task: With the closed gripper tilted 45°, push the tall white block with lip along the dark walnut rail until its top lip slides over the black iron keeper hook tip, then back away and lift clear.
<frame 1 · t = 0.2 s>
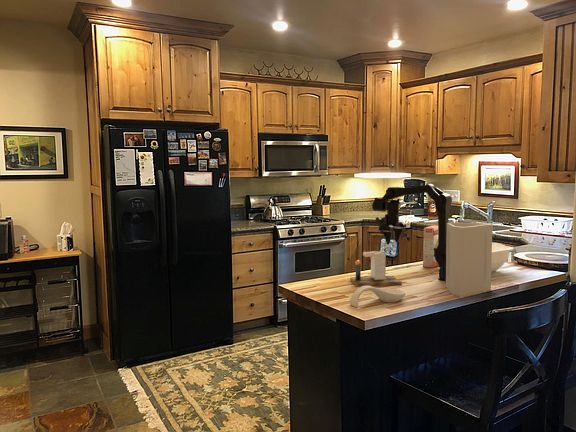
hand: (392, 243, 232), 15 cm above the countertop, tool pointing down, fingers open, 9 cm apart
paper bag: (462, 290, 197), on the countertop
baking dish: (474, 271, 233), on the countertop
spoon rest: (378, 303, 180), on the countertop
walnut rail: (378, 282, 212), on the countertop
white block with lip: (373, 265, 211), point 8 cm above the countertop, slide at 0.0 cm
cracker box: (432, 265, 248), on the countertop
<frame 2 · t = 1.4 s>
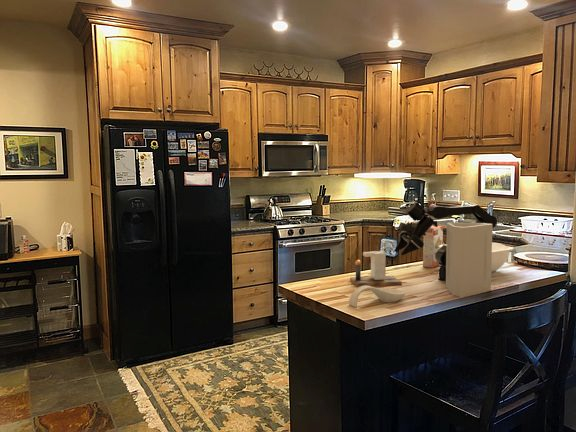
hand: (398, 252, 212), 13 cm above the countertop, tool tilted 45°, fingers open, 9 cm apart
nothing on the countertop moved.
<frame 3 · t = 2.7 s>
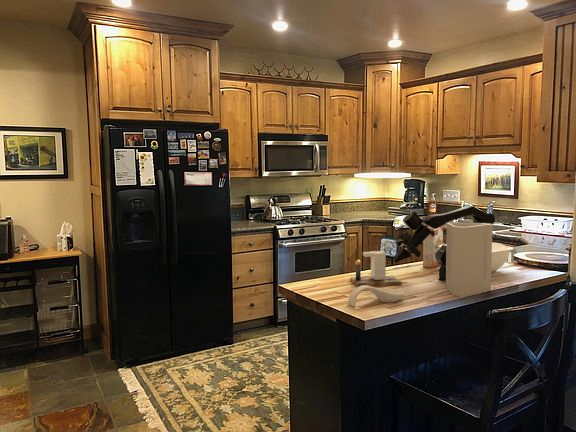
hand: (394, 261, 212), 9 cm above the countertop, tool tilted 45°, fingers closed
nothing on the countertop moved.
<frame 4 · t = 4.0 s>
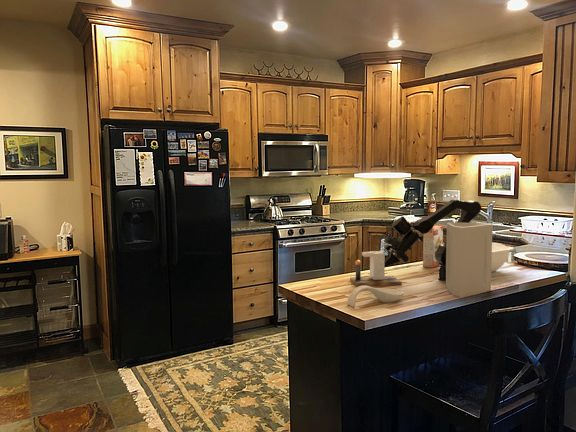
hand: (383, 266, 211), 7 cm above the countertop, tool tilted 45°, fingers closed, pressing on white block with lip
white block with lip: (372, 265, 211), point 8 cm above the countertop, slide at 0.5 cm, touching gripper
everything else where it was.
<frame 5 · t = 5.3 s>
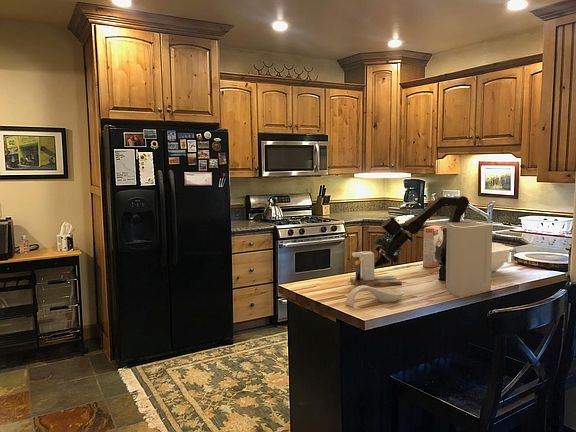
hand: (372, 267, 211), 7 cm above the countertop, tool tilted 45°, fingers closed, pressing on white block with lip
white block with lip: (362, 265, 210), point 8 cm above the countertop, slide at 5.1 cm, touching gripper
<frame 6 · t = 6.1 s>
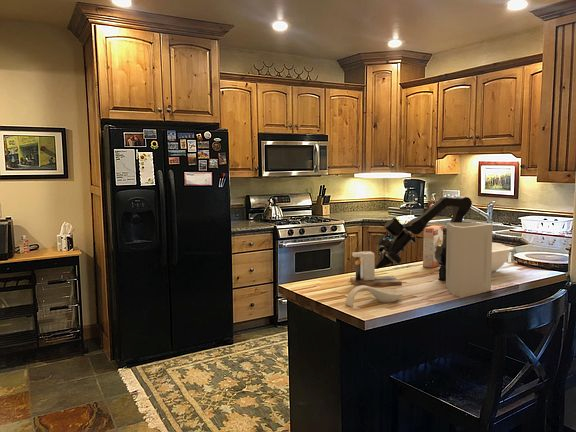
hand: (376, 268, 211), 7 cm above the countertop, tool tilted 45°, fingers closed
white block with lip: (363, 265, 210), point 8 cm above the countertop, slide at 5.0 cm
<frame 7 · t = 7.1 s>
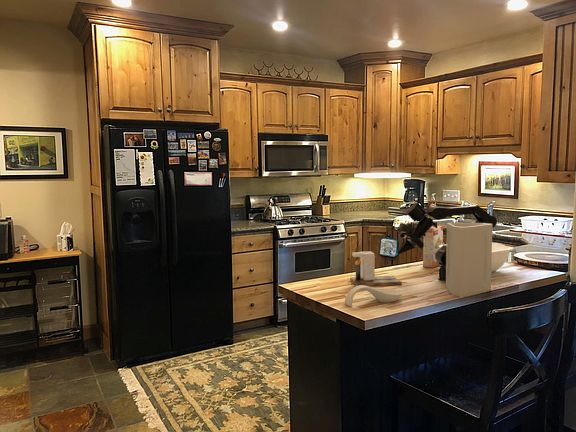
hand: (397, 253, 211), 13 cm above the countertop, tool tilted 45°, fingers closed
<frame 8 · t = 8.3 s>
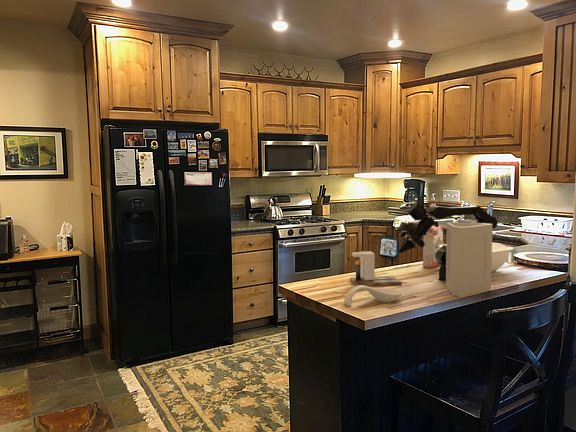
hand: (398, 252, 211), 14 cm above the countertop, tool tilted 45°, fingers closed
at the end: white block with lip slide at 5.0 cm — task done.
